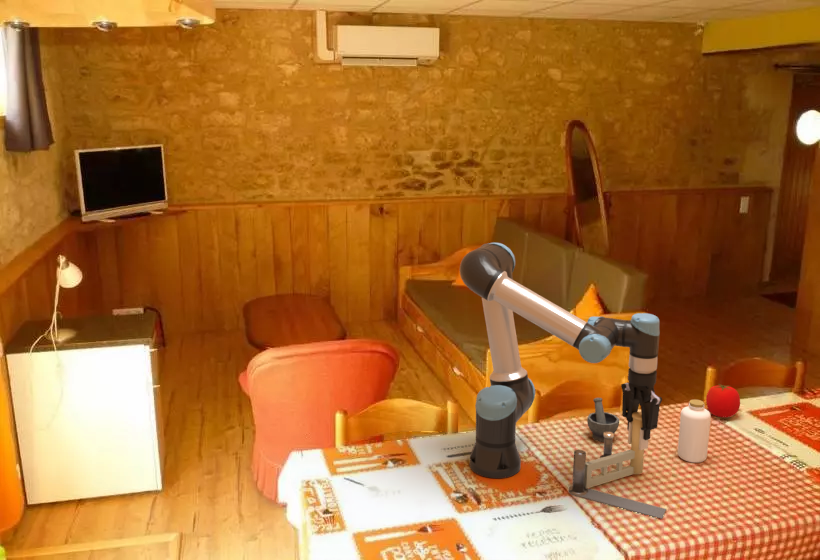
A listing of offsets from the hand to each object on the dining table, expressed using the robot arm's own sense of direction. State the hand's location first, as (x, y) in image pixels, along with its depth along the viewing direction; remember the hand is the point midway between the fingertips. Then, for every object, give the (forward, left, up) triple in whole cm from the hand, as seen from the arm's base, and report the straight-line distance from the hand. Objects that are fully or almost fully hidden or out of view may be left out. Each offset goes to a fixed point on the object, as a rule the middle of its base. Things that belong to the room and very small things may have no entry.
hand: (637, 445), depth 205 cm
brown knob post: (-11, -18, -9) cm, 23 cm away
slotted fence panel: (-5, -7, -8) cm, 12 cm away
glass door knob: (-10, +4, -9) cm, 14 cm away
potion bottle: (+12, +18, -9) cm, 24 cm away
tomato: (+16, +54, -9) cm, 57 cm away
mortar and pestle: (-15, +18, -9) cm, 26 cm away
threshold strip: (0, -18, -9) cm, 20 cm away
